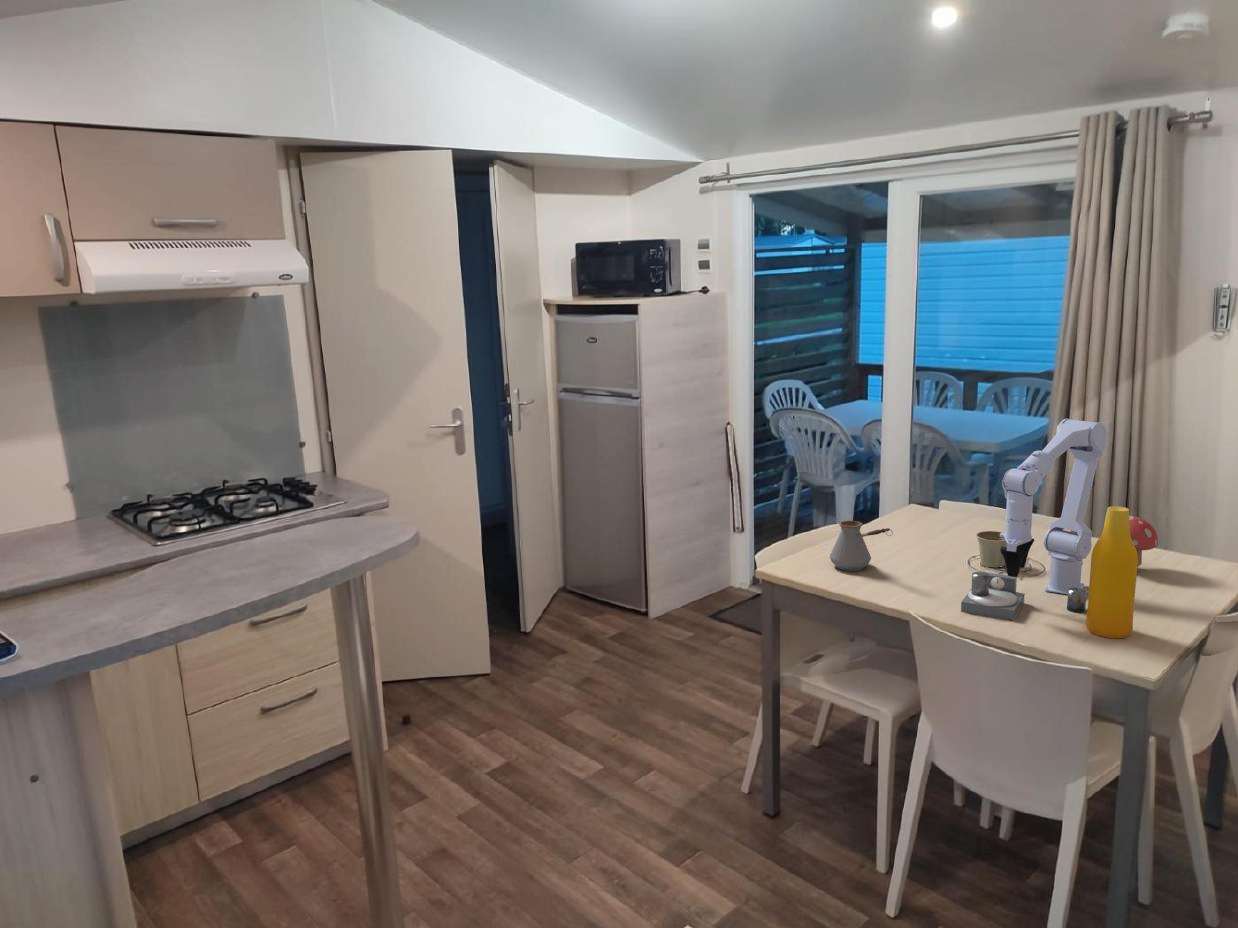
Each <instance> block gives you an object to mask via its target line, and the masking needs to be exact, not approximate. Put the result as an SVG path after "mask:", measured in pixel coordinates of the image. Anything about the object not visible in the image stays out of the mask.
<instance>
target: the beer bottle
mask: <svg viewBox="0 0 1238 928" xmlns="http://www.w3.org/2000/svg"><path fill="white" fill-rule="evenodd" d="M1129 516H1130V509H1129V508H1128V507H1125V506H1117V505H1116V506H1114V505H1113V506H1107V510H1106V513H1105V518H1104V524H1103V529H1102V533H1101V535H1100V537H1098V539H1097V541H1096V543H1095V544H1094V546H1093V549H1092V550H1091V555H1090V556H1091V557H1090V568H1089V569H1090V571H1089V583H1088V585H1089V586H1088V597H1087V599H1088V600H1087V613H1086V620H1085V625H1086V628H1087V631H1089V632H1090V633H1091V634H1093V635H1096V636H1098V637H1102V638H1108V639H1125V638H1128V637H1130V635H1131V634H1132V632H1133V626H1134V623H1133V622H1134V610H1135V598H1136V589H1137V588H1136V587H1137V574H1138V567H1139V566H1138V556H1137V551H1136V548H1135V546H1134V543H1133V541H1132V539H1131V536H1130V519H1129ZM1137 566H1138V567H1137Z"/></svg>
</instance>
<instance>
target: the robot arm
mask: <svg viewBox="0 0 1238 928" xmlns="http://www.w3.org/2000/svg"><path fill="white" fill-rule="evenodd" d="M1108 433H1109V432H1108V431H1107V428H1106V426H1105V424H1104V423H1103V422H1099V421H1098V422H1095V421H1087V420H1077V419H1070V418H1064V419H1063V420H1061V422H1060V423H1059V424H1058V425H1057V426H1056V431H1055V435H1054V436H1053V438H1052V439H1051V440H1050V441H1049V442H1048V443H1047V445H1046V446H1045V447H1044V448H1043V449H1042V450H1035V451H1033V452H1031V454H1030V455H1029V456H1028V457H1027V458H1026V459H1025V460H1024V461H1023V462H1022V463H1020V465H1018V466H1017V467H1016V468H1015V467H1014V468H1010V469H1008V470H1006V472H1005V473H1004V475H1003V478H1002V481H1001V486H1002V489H1003V491H1004V497H1005V499H1006V506H1005V507H1006V511H1005V530H1004V531H1005V532H1004V533H1001V534H1000V537H1003V538H1005V540H1006V542H1007V547H1003V546H1002V547H1001V548H1000V551H1001V554H1002V555H1003V557H1004V560H1005V567H1006V574H1007V576H1011V577H1017V578H1018V576H1019V573H1020V571H1021V570H1020V569H1021V568H1022V569H1023V568H1025V567H1026V562H1027V559H1028V555H1029V552H1030V550H1031V547H1032V545H1033V544H1034V542H1035V539H1034V538H1033V535H1032V526H1033V525H1032V524H1033V523H1032V521H1033V506H1034V494H1036V493H1037V492H1038V490H1039V488H1040V486H1041V485H1040V484H1041V483H1042V482H1043V479H1044V477H1045V476H1047V475H1048V474H1049V473H1050V471H1051V470H1052V469H1053V468H1054V466H1055V460H1057V459H1058V458H1059V457H1060V456H1061V455H1063V454H1064V453H1065V452H1066V451H1069V452H1070V453H1071V454H1072V455H1073V457H1074V462H1073V465H1072V469H1071V473H1070V478H1069V483H1068V487H1067V490H1066V495H1065V499H1064V503H1063V507H1062V512H1061V515H1060V517H1059V518H1057V519H1055V520H1053V521H1051V522H1050V524H1049V526H1048V530H1047V531H1046V533H1045V534H1044V537H1043V545H1044V548H1045V550H1046V551H1047V555H1048V556H1050V563H1049V564H1050V566H1049V580H1048V581H1049V582H1048V583H1047V585H1046V586H1045V588H1044V591H1045V592H1047V593H1048V592H1049V593H1055V594H1062V595H1063V594H1064V595H1068V589H1069V588H1082V589H1084V587H1085V583H1084V582H1081V579H1082V567H1083V560H1084V559H1086V558H1087V557H1088V556H1089V555H1090V553H1091V552H1092V535H1093V531H1092V530H1091V529H1090V528H1089V527H1088V526H1087V524H1086V523H1085V522H1084V520H1085V515H1086V512H1087V507H1088V504H1089V503H1088V502H1089V499H1090V494H1091V491H1092V486H1093V482H1094V477H1095V473H1096V470H1097V465H1098V462H1099V457H1103V455H1104V452H1105V451H1104V450H1105V449H1106V448H1105V447H1106V444H1107V439H1108V435H1109V434H1108ZM1072 531H1073V532H1072Z"/></svg>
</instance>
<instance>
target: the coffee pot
mask: <svg viewBox="0 0 1238 928" xmlns="http://www.w3.org/2000/svg"><path fill="white" fill-rule="evenodd" d="M838 525H839V527H840V529H841V530H840V533H839V535H838V537H837V539H836V541H835V544H834V545H833V548H832V549H831V551H830V553H829V560H830V561H831V562H832V563H833V565H834V566H836V568H837V569H839V570H842V571H845V572H846V571H847V572H848V571H849V572H854V571H855V572H856V571H861V570H864V568H865V567H867V566H868V565H869V563H870V562H871V560H872V556H871V553H870V551H869V548H868V546H867V544H866V542H865V539H864V537H870V536H874V535H875V536H877V535H879V534H882V533H883V534H886V536H889V537H890V536H893V534H894V533H893V530H892V529H890V527H889V528H887V527H886V528H881V529H874V530H872V531H868V532H864V533H861V528H862V526H863V522H861V521H858V520H857V521H856V520H843V521H840V522H839V523H838ZM889 531H891V534H890V535H889V534H887V532H889Z"/></svg>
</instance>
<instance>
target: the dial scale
mask: <svg viewBox="0 0 1238 928" xmlns="http://www.w3.org/2000/svg"><path fill="white" fill-rule="evenodd" d="M984 572H985V571H984ZM985 573H988V574H989V575H990V578H989V595H988V596H983V597H982V596H975V595H973V594H972V593H971V589H970V590H969V591H968V592H967V594H966V595H965V596H964V597H963V599H962V600H961V606H960V612H961V613H962V612H964V613H970V614H975V615H979V616H986V617H993V618H999V619H1005V620H1010V621H1014V620H1015V618H1016V617H1017V615H1018V613H1019V612H1020V610H1021V608H1022V607H1023V605H1024V604H1025V593H1024V592H1017V582H1018V581H1017V579H1018V577H1011V576H1008V574H1007V575H1005V574H1001V573H994V572H985Z"/></svg>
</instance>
